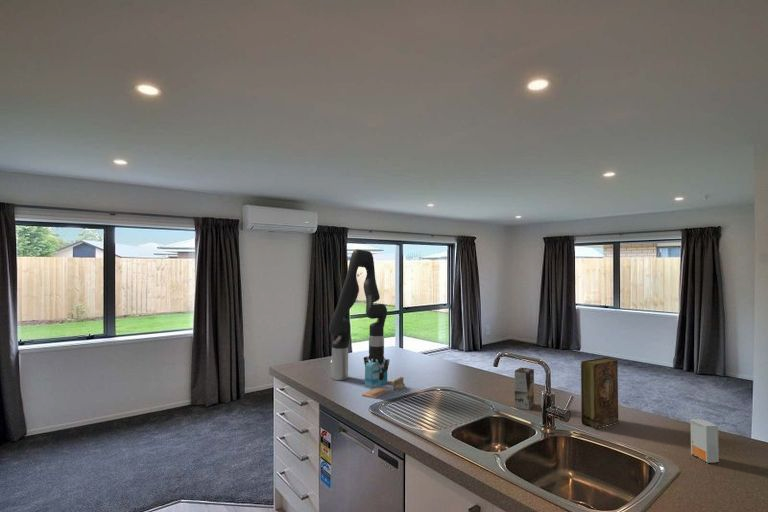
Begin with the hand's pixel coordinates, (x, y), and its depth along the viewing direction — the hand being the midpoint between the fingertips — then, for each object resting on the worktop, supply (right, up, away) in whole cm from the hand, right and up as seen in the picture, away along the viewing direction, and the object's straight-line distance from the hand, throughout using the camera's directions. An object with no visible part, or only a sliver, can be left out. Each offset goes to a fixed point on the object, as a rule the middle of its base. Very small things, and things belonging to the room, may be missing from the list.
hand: (376, 378), depth 189 cm
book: (+91, -6, -36) cm, 98 cm away
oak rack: (+5, -7, +11) cm, 14 cm away
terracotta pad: (0, -7, 0) cm, 7 cm away
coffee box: (+67, -7, -17) cm, 70 cm away
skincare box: (+108, -5, -65) cm, 126 cm away
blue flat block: (0, -4, 0) cm, 4 cm away
